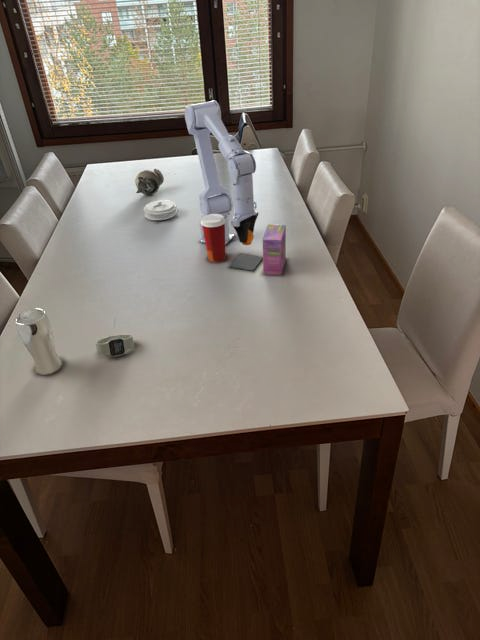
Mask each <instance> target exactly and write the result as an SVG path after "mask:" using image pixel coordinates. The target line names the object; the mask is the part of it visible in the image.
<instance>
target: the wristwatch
mask: <svg viewBox="0 0 480 640" xmlns="http://www.w3.org/2000/svg"><path fill="white" fill-rule="evenodd" d="M133 347H135V344H134V338H133V334H131V333H122V334H111V335H108V336H106V337H103V338H100V339H99V340H97V341H95V348H96V352H97V354H99V355H106V356H111V357H113V358H116V357H119V356H124V354H125V353H126V352H127V351H129V350H130V349H133Z"/></svg>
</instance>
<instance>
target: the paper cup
mask: <svg viewBox="0 0 480 640" xmlns="http://www.w3.org/2000/svg"><path fill="white" fill-rule="evenodd" d="M225 222H226V220H225V219H224V217H223V216H222V215H220V214H209V215H206V216H204V217H203V218H202V221H201V222H200V221H199V224H200V223H201V225H202V227H203V232H204V238H205V249H206V253H207V258H208V261H209V262H211V263H222V262H223V261H225V260H226V245H225Z"/></svg>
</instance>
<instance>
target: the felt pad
mask: <svg viewBox="0 0 480 640" xmlns="http://www.w3.org/2000/svg"><path fill="white" fill-rule="evenodd" d="M262 261H263V256H257V255H252V254H251V255H250V254H243V253H240V254H239V255H238V256H237V257H236V259H234V261H233V262H232V263H231V264H230V266H229V269H236V270H243V271H250V272H254V271H255V270H256V268H257V267H258V266H259V265H260V263H261V262H262Z"/></svg>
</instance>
